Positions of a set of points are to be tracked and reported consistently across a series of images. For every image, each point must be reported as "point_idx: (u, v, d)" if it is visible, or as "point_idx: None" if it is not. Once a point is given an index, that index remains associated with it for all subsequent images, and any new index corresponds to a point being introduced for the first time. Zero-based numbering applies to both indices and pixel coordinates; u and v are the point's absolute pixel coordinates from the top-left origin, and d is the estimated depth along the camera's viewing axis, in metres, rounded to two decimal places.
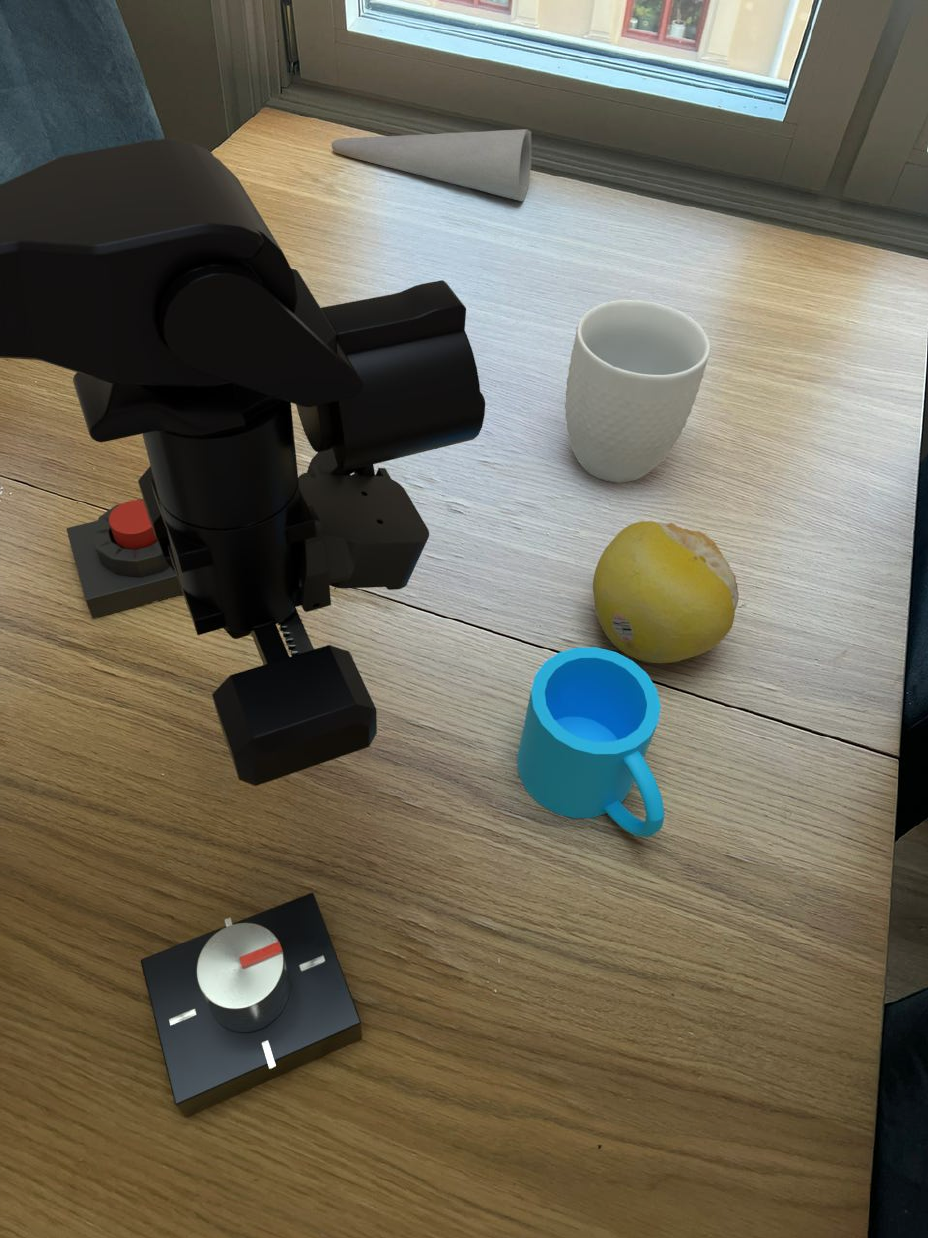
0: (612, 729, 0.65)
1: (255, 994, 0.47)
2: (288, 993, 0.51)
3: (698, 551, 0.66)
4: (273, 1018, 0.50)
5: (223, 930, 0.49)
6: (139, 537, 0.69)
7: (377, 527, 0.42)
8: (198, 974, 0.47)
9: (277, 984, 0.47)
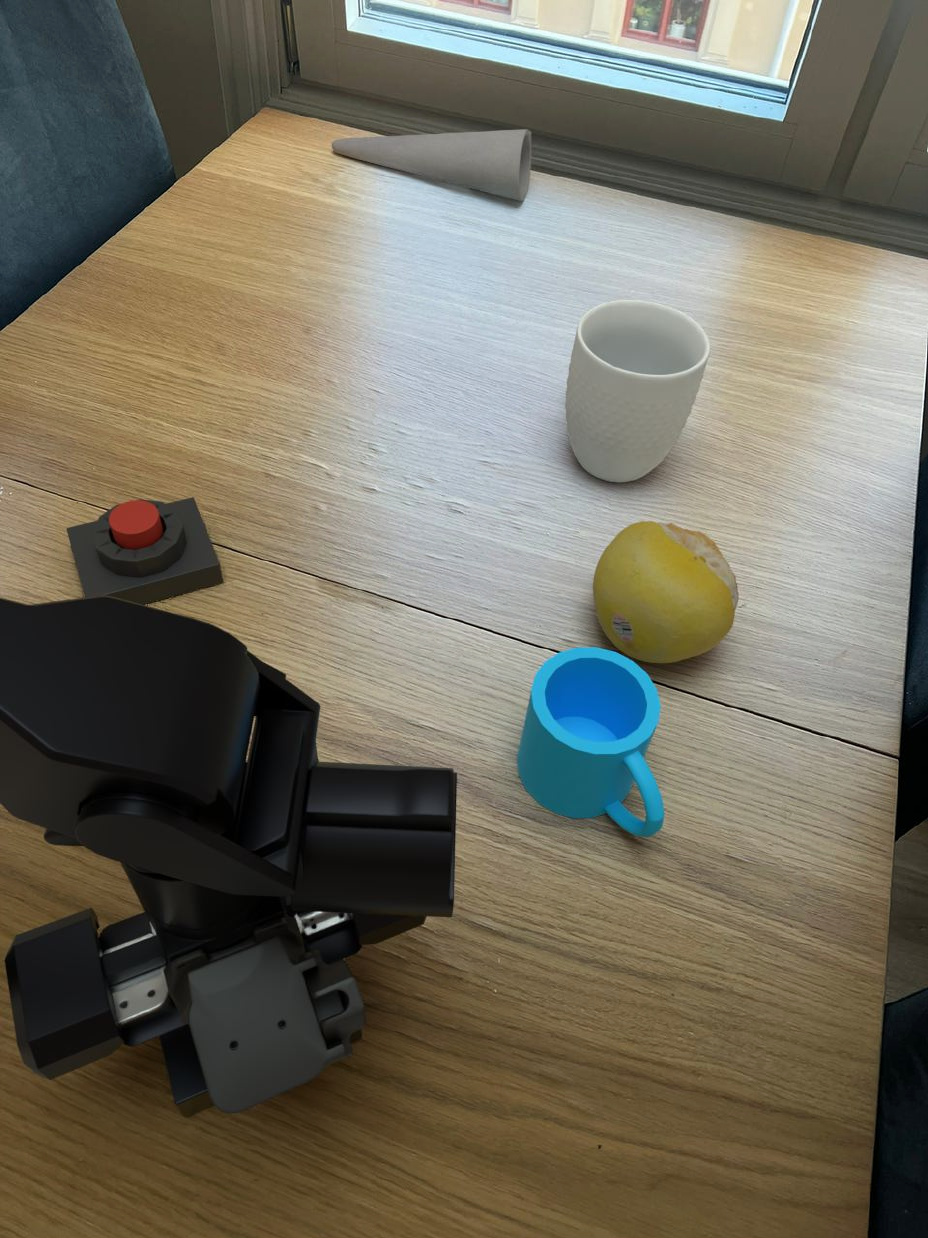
0: (612, 729, 0.65)
1: None
2: None
3: (698, 552, 0.66)
4: None
5: None
6: (139, 537, 0.69)
7: (221, 1042, 0.37)
8: None
9: None
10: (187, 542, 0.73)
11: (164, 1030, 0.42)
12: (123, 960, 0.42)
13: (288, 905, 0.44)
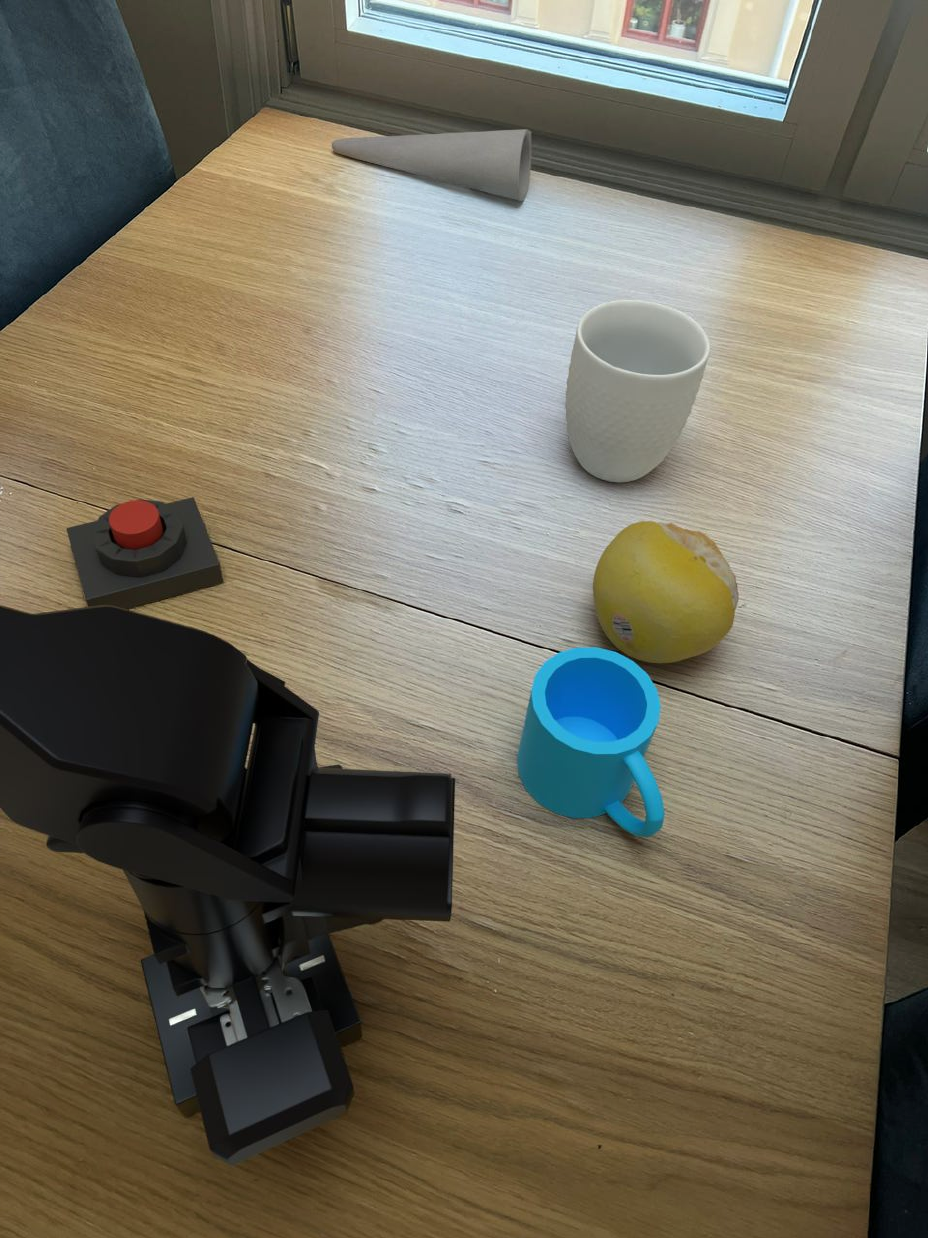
0: (612, 729, 0.65)
1: None
2: None
3: (698, 551, 0.66)
4: None
5: None
6: (139, 537, 0.69)
7: None
8: None
9: None
10: (187, 542, 0.73)
11: (315, 996, 0.44)
12: (256, 1016, 0.41)
13: None
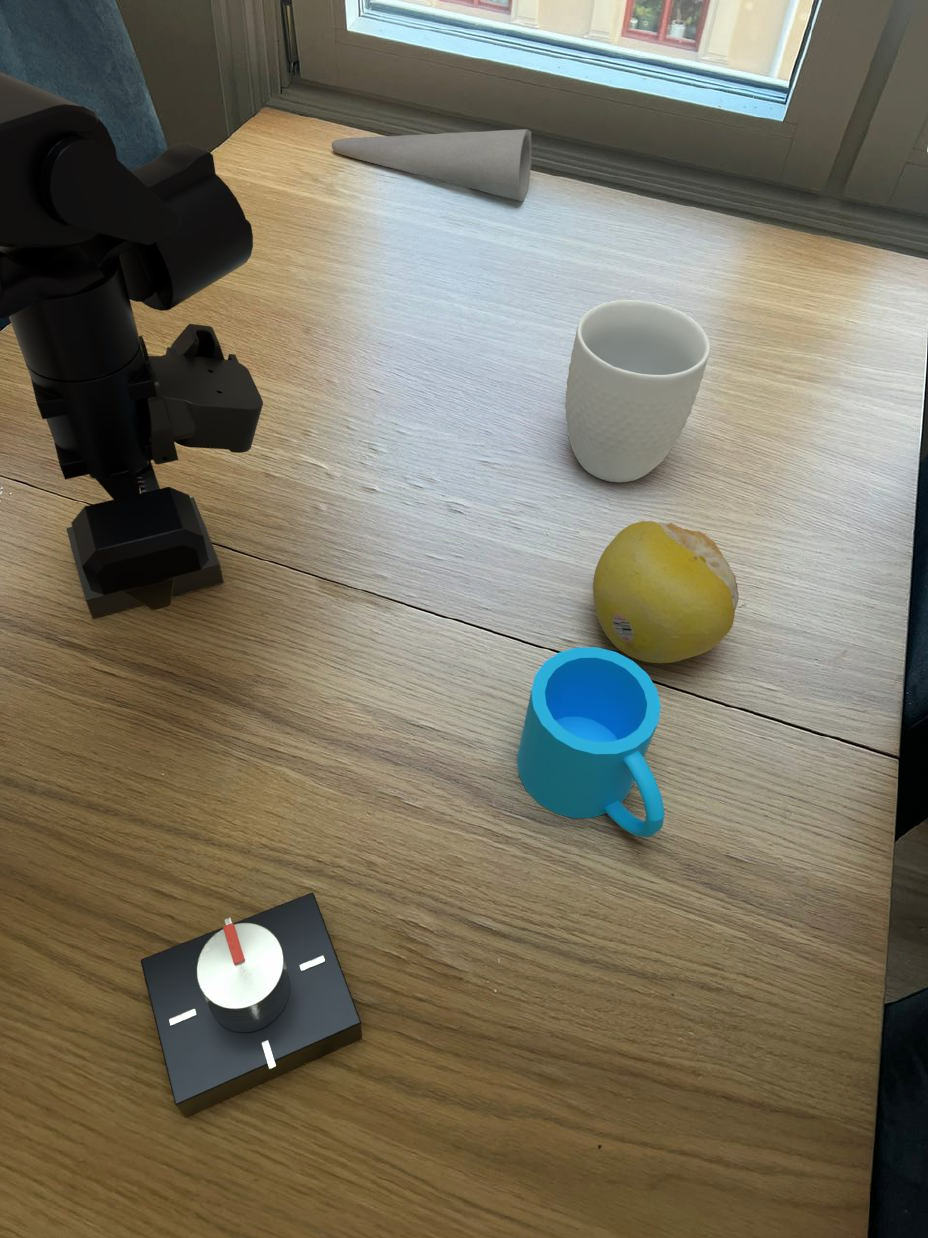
0: (612, 729, 0.65)
1: (271, 946, 0.48)
2: None
3: (698, 551, 0.66)
4: None
5: (201, 986, 0.47)
6: None
7: (216, 395, 0.51)
8: (245, 1005, 0.46)
9: (263, 927, 0.49)
10: None
11: None
12: (128, 492, 0.50)
13: None
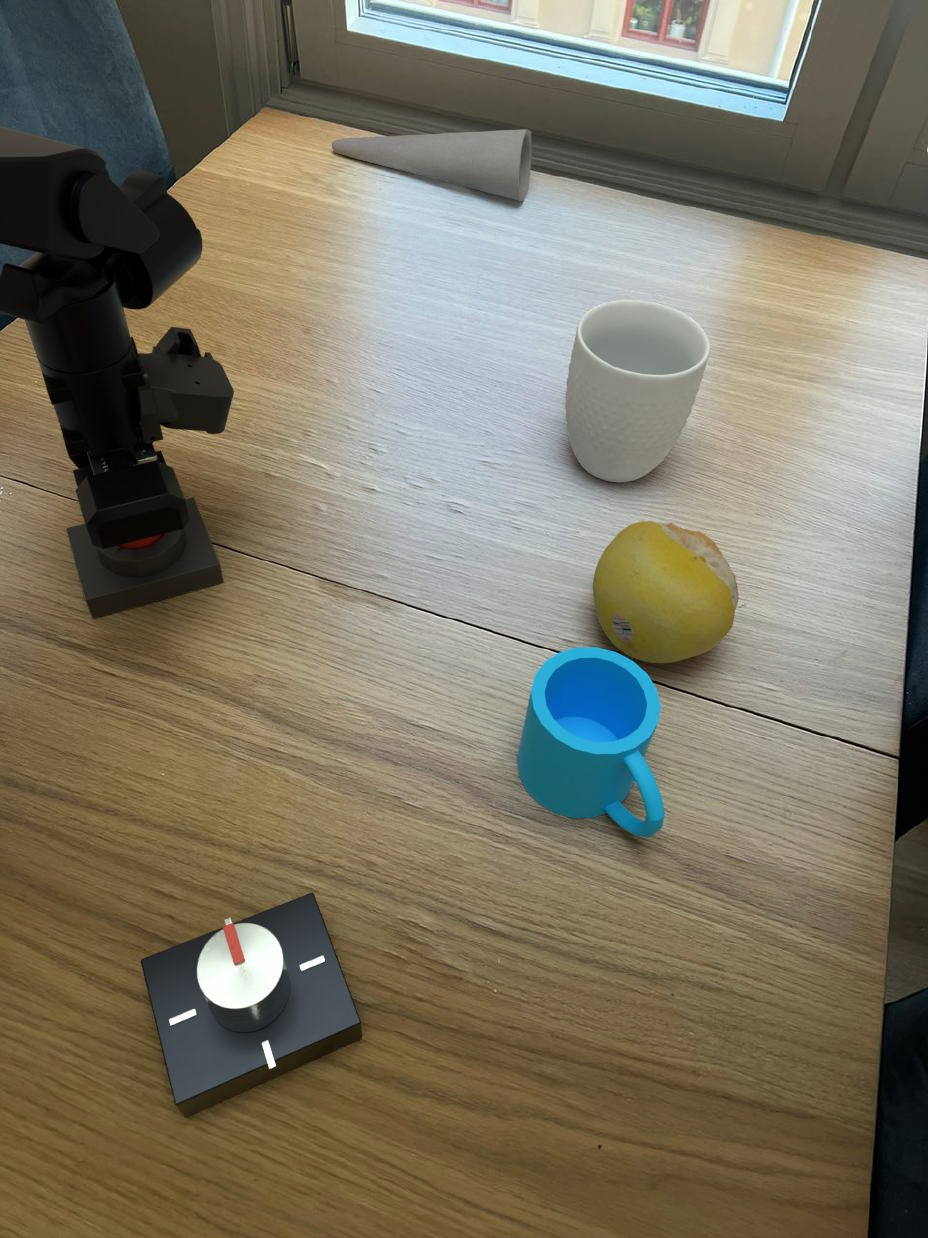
0: (612, 729, 0.65)
1: (271, 946, 0.48)
2: None
3: (698, 552, 0.66)
4: None
5: (201, 986, 0.47)
6: (141, 544, 0.70)
7: (194, 385, 0.62)
8: (245, 1005, 0.46)
9: (263, 927, 0.49)
10: (187, 542, 0.73)
11: (162, 458, 0.65)
12: (122, 465, 0.60)
13: None
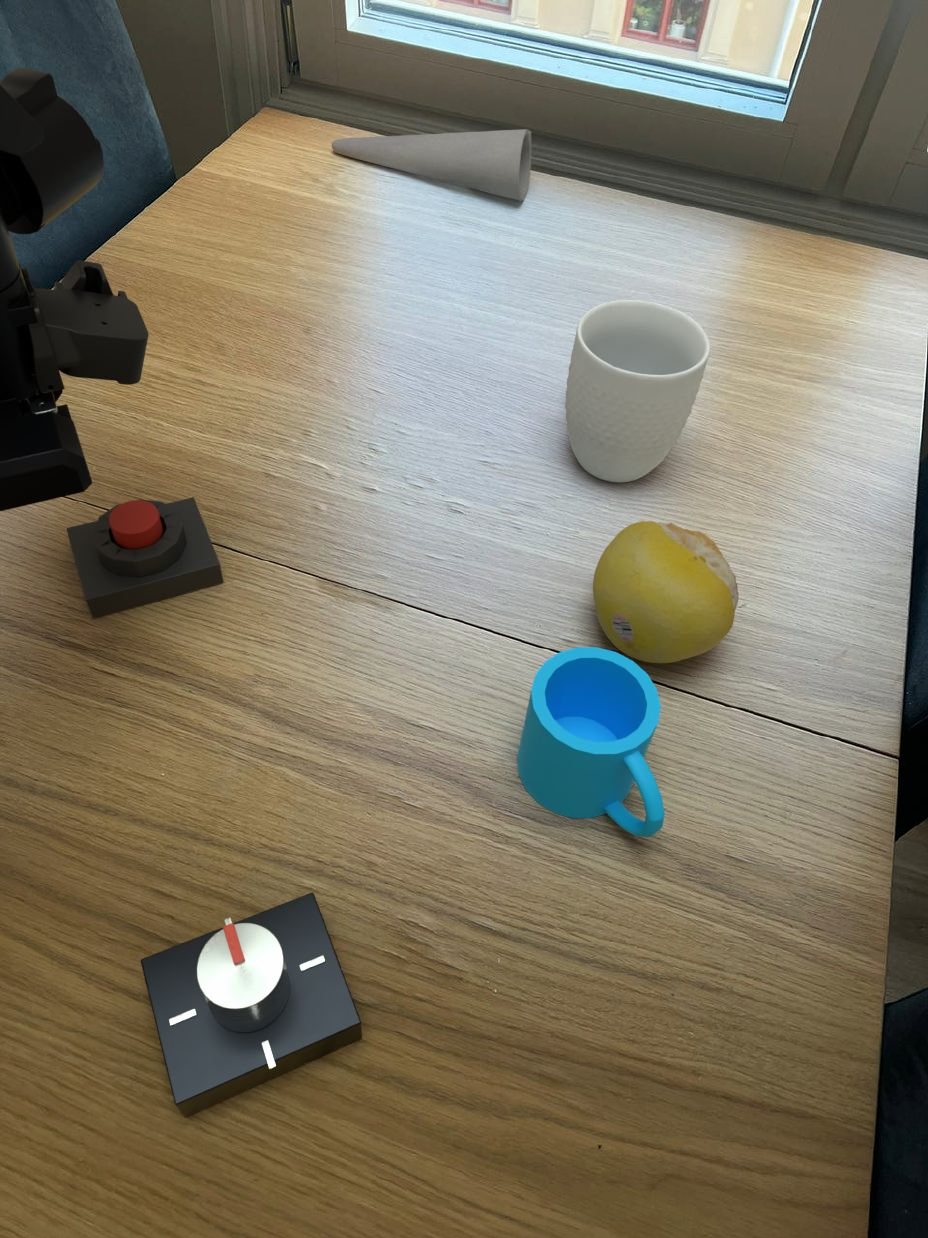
0: (612, 729, 0.65)
1: (271, 946, 0.48)
2: None
3: (698, 551, 0.66)
4: None
5: (201, 986, 0.47)
6: (139, 537, 0.69)
7: (100, 326, 0.53)
8: (245, 1005, 0.46)
9: (263, 927, 0.49)
10: (187, 542, 0.73)
11: (67, 413, 0.56)
12: (12, 418, 0.51)
13: None
